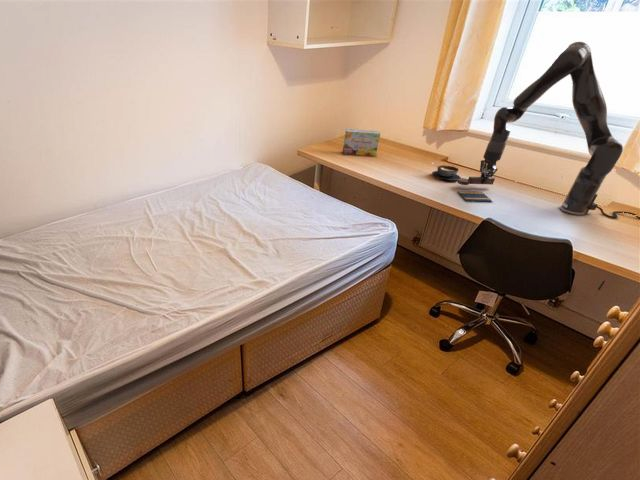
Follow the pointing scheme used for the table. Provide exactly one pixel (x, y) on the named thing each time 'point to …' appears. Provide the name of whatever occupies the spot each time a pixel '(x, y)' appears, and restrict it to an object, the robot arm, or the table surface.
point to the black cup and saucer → (446, 172)
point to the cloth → (474, 196)
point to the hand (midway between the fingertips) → (482, 182)
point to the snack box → (361, 142)
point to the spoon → (474, 180)
